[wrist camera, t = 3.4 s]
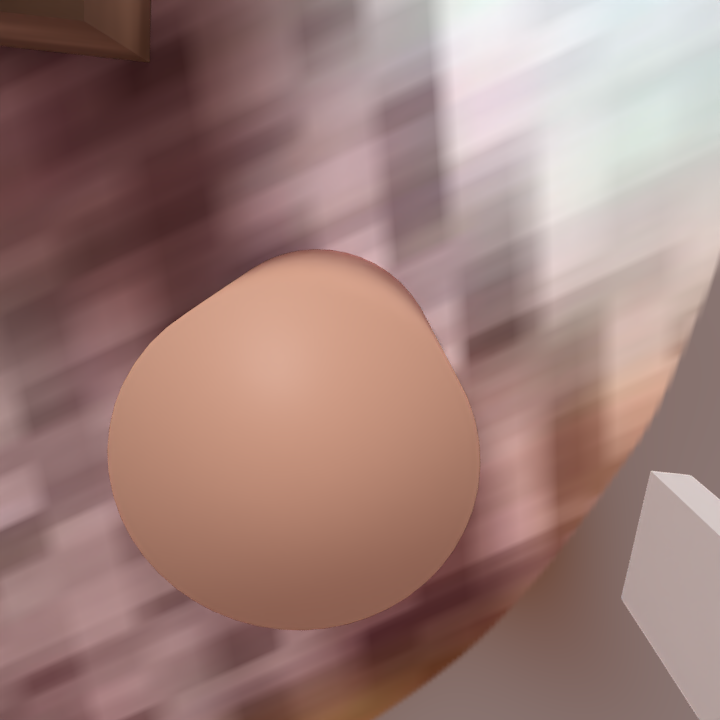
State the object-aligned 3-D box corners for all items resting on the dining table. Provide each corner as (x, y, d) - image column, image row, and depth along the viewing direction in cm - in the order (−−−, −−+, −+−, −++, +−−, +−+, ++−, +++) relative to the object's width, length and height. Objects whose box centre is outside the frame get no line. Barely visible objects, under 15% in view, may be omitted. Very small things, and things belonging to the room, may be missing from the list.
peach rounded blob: (208, 236, 20) (109, 263, 12) (450, 263, 20) (508, 307, 12) (197, 462, 22) (105, 613, 14) (419, 485, 22) (451, 645, 14)
